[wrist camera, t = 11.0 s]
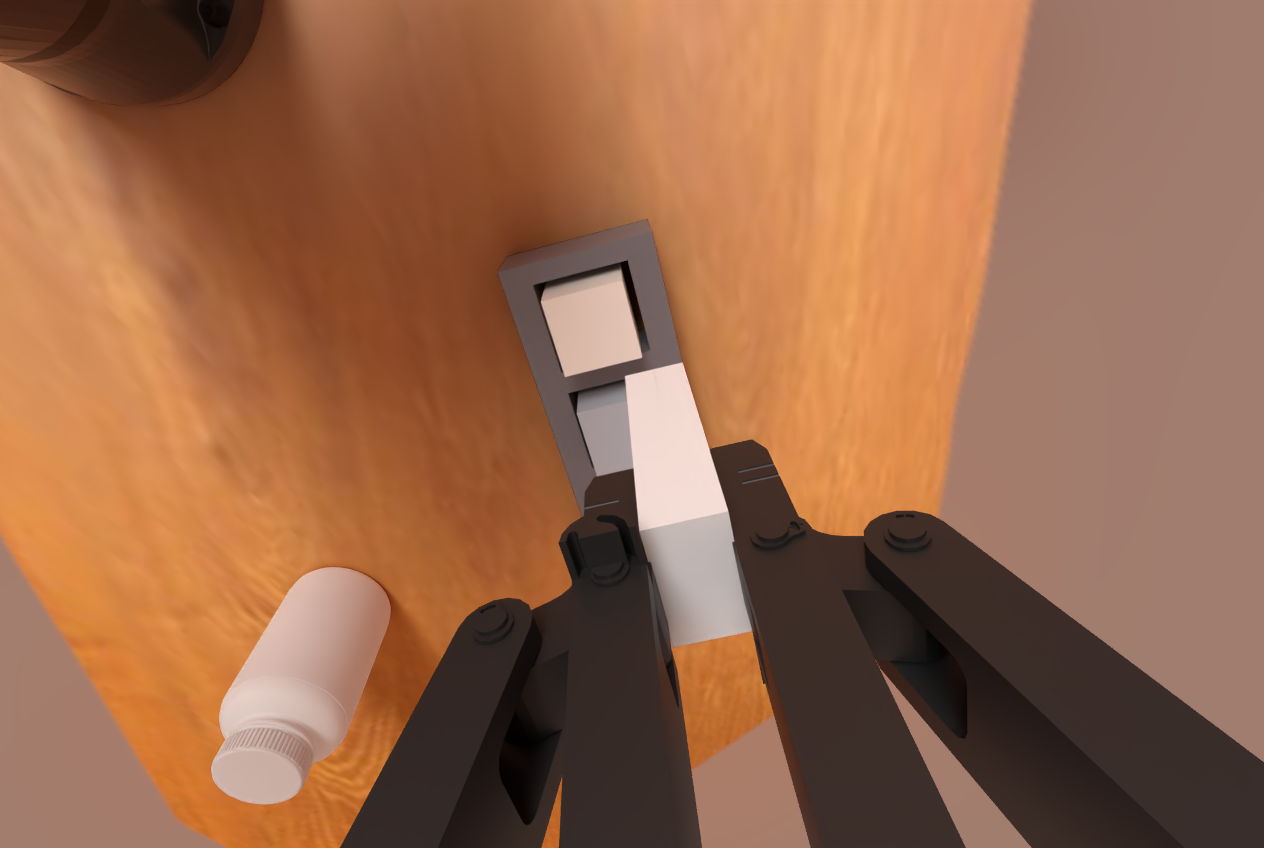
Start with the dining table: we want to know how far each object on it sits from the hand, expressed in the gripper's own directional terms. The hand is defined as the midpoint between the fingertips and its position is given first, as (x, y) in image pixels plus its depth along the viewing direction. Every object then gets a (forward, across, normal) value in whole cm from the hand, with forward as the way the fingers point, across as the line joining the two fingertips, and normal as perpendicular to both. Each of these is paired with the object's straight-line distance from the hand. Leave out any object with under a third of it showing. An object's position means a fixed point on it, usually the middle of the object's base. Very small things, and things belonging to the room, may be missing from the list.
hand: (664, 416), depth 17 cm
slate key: (+24, -3, -11) cm, 27 cm away
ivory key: (+24, -3, -4) cm, 25 cm away
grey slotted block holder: (+26, -3, -11) cm, 28 cm away
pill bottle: (+26, -29, -23) cm, 45 cm away
